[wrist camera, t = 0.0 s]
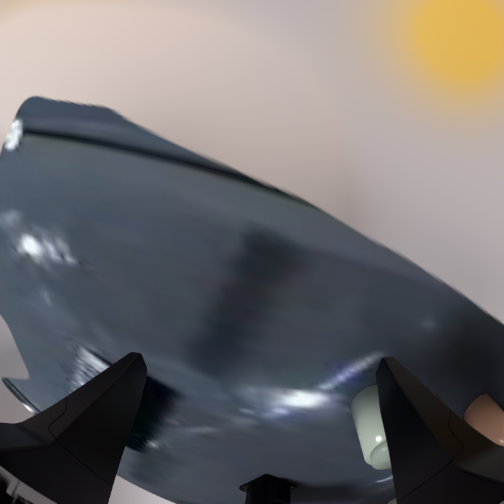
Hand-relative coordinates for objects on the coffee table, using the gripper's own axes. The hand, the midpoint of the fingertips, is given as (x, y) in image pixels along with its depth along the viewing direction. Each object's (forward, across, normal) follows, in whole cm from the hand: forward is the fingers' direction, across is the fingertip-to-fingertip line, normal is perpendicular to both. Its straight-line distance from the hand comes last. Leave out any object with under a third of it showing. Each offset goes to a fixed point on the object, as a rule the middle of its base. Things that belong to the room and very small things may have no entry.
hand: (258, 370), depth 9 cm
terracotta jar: (+9, -32, +26) cm, 42 cm away
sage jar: (+11, -12, +19) cm, 25 cm away
